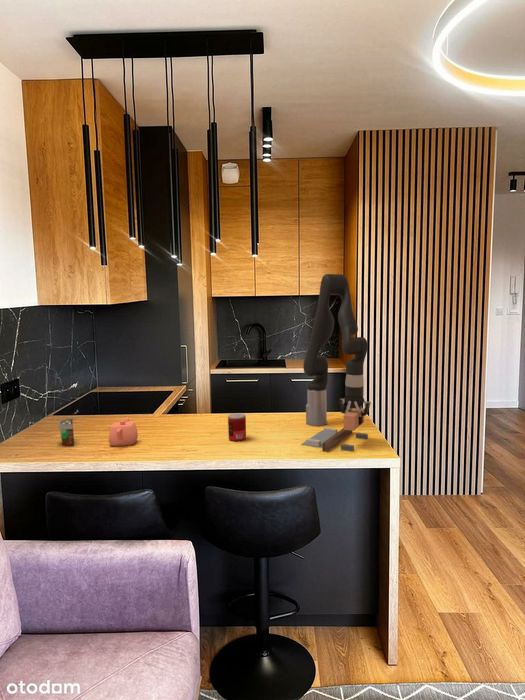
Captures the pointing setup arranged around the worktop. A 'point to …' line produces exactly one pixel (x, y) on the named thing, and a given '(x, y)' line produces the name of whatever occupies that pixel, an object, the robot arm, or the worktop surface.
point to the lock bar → (352, 420)
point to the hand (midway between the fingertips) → (354, 423)
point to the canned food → (237, 427)
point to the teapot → (123, 433)
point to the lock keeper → (320, 437)
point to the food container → (67, 432)
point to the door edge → (335, 439)
